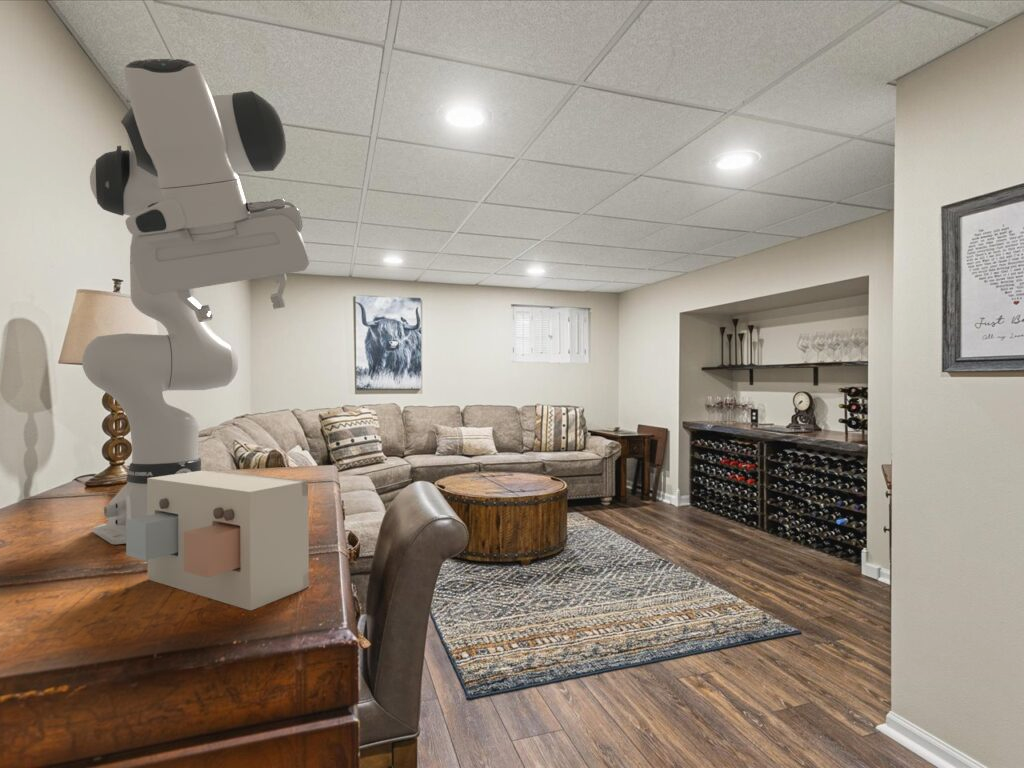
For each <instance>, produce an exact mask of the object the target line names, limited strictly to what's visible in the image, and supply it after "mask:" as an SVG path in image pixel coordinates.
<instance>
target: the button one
mask: <svg viewBox="0 0 1024 768" xmlns="http://www.w3.org/2000/svg"><path fill="white" fill-rule="evenodd" d="M125 544H126V546H125V548H126V549H125V550H126V551H125V554H126V555H125V556H127V557H129V558H133V559H137V560H141V561H145V562H148V560H151V559H154V558H158V557H162V556H166V555H170V554H173V553H177V552H178V514H174V513H169V512H163V513H157V514H152V515H147V516H142V517H137V518H132V519H127V520H126V543H125Z"/></svg>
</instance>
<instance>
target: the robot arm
mask: <svg viewBox="0 0 1024 768" xmlns="http://www.w3.org/2000/svg"><path fill="white" fill-rule="evenodd" d="M123 70H124V72H123V73H124V77H125V84H126V89H127V93H128V98H129V101H130V105H131V107H130V108H129V109H128V110H127V112H126V114H125V115H124V116H123V117H122V119H121V121H120V123H121V124H122V126H123V127H124V129H125V130H126V133H127V142H128V146H129V149H130V150H129V149H126V150H123V149H122V145H116V150H113V151H109V152H104V153H103V154H102V155H101V156H99V157H98V158H97V159H95V163H94V165H93V166H92V168H91V171H90V174H89V184H90V189H91V192H92V194H93V196H94V198H95V200H96V203H97V204H98V205H99V207H100V208H101V209H103V211H106V212H109V213H112V214H116V215H118V216H122V217H123V216H124V215H127V216H128V217H127V218H126V219H125V226H126V229H127V230H128V233H130V234H131V235H132V236H131V242H130V247H129V249H130V250H129V251H130V252H129V255H130V256H129V275H130V276H129V278H130V282H129V283H130V284H129V285H130V300H131V303H132V305H133V306H134V307H135V308H136V310H138V312H140V313H142V314H144V315H145V316H147V317H149V318H152V319H154V320H156V321H158V322H159V323H160V324H161V325H163V326H164V328H165V329H166V331H167V334H165V335H164V334H147V333H146V334H143V333H130V332H129V333H127V332H126V333H116V334H108V335H100V336H96V337H95V338H93V339H92V340H91V341H90V342H89V343H88V345H87V346H86V347H85V349H84V351H83V354H82V357H81V358H82V359H81V364H82V368H83V372H84V374H85V376H86V378H87V379H88V380H89V381H90V383H92V384H93V385H94V386H96V387H97V388H99V389H101V390H102V391H104V392H105V393H107V395H110V397H112V398H113V399H114V400H115V401H116V403H118V405H119V406H120V407H121V409H122V410H123V412H124V413H125V416H126V418H127V421H128V425H129V429H130V439H131V453H132V454H131V456H132V457H131V459H132V462H131V463H129V465H127V466H126V467H127V468H128V469H126V471H127V472H126V474H127V475H126V482H127V483H126V484H125V485H124V486H123V487H122V489H120V490H119V491H118V493H117V494H115V495H114V497H113V498H112V499H110V501H108V505H105V506H104V508H103V515H104V517H105V518H106V519H107V522H106V523H102V524H99V525H96V526H94V527H93V528H92V532H93V534H94V535H97V536H98V537H99V538H101V539H103V540H105V541H106V542H108V543H109V544H111V545H123V544H126V520H127V519H132V518H137V517H142V516H147V478H152V477H159V476H167V475H174V474H181V473H188V472H195V471H202V468H203V465H202V459H201V458H200V456H199V447H200V446H199V438H200V437H199V435H200V434H199V432H200V431H199V428H200V427H199V424H198V420H196V417H194V416H193V415H192V414H190V413H189V412H188V411H185V410H183V409H181V408H177V407H175V406H173V405H170V404H168V403H167V402H166V401H165V399H164V395H163V392H167V391H207V390H212V389H216V388H217V389H218V388H222V387H227V386H229V384H230V383H232V381H233V380H234V379H235V378H236V375H237V372H238V368H239V360H238V355H237V354H236V350H235V349H234V348H233V346H232V345H231V344H230V343H228V341H226V340H224V339H223V338H221V337H220V336H219V335H218V334H217V333H216V332H214V330H213V329H212V328H211V327H210V326H209V324H208V323H207V322H209V321H211V320H212V319H213V314H212V312H211V311H210V310H211V309H210V305H209V304H204V305H202V304H201V303H200V302H199V300H198V290H197V289H198V288H199V289H200V288H206V287H210V286H211V287H212V286H217V285H218V286H219V285H223V284H230V283H237V282H243V281H249V280H254V279H261V278H266V277H267V278H268V277H273V279H274V283H275V284H279V285H278V289H277V293H271V295H270V301H271V302H272V308H273V309H274V310H277V309H283V308H286V301H285V297H284V291H285V288H286V284H287V281H288V277H287V274H292V273H298V272H304V271H306V270H307V268H308V267H309V265H310V261H311V260H310V256H309V253H308V250H307V247H306V244H305V242H304V241H305V240H304V239H303V236H302V234H301V231H302V229H303V220H302V217H301V214H300V210H299V209H298V207H297V206H296V205H295V204H293V203H291V202H289V201H285V200H284V199H282V198H281V199H279V198H277V199H276V198H275V199H273V200H268V201H254V202H247V200H246V197H245V193H244V190H243V187H242V184H241V180H240V177H239V175H238V174H241V173H250V172H256V173H257V172H273V171H275V169H276V168H277V167H278V166H279V165H280V163H281V161H282V160H283V158H284V156H285V155H286V151H287V142H286V133H285V130H284V126H283V123H282V120H281V118H280V115H279V113H278V111H277V109H275V107H274V106H273V105H272V104H271V103H270V102H268V101H267V100H266V99H264V97H262V96H260V95H259V94H258V93H255V92H254V91H252V90H248V91H241V92H234V93H233V94H217V95H216V94H214V95H212V93H211V91H210V88H209V86H208V83H207V81H206V79H205V77H204V75H203V73H202V71H201V69H200V67H199V66H198V65H197V63H193V62H191V61H190V60H186V59H177V58H175V59H171V58H156V59H155V58H153V59H151V58H150V59H144V60H141V59H139V60H134V61H131V62H129V63H128V64H126V65H125V66H124V68H123ZM286 206H287V207H286Z"/></svg>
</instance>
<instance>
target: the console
mask: <svg viewBox="0 0 1024 768" xmlns="http://www.w3.org/2000/svg"><path fill="white" fill-rule="evenodd" d="M163 512H169V513H174V514H178V552H177V553H173V554H170V555H166V556H162V557H158V558H154V559H151V560H147V580H149V581H152V582H155V583H159V584H162V585H165V586H167V587H168V586H169V587H172V588H174V589H178V590H181V591H185V592H188V593H191V594H194V595H198V596H201V597H205V598H207V599H210V600H214V601H216V602H217V601H218V602H221V603H224V604H227V605H231V606H234V607H237V608H240V609H244V610H247V611H253V610H255V609H259V608H260V607H263V606H265V605H268V604H270V603H273V602H276V601H278V600H280V599H282V598H286V597H288V596H290V595H293V594H295V593H298V592H300V591H303V590H305V589H308V588H309V587H310V585H309V584H310V581H309V580H310V579H309V577H310V576H309V575H310V572H309V571H310V568H309V567H310V565H309V564H310V563H309V562H310V561H309V559H310V554H309V544H310V543H309V541H310V540H309V538H310V537H309V480H305V479H304V480H303V479H302V480H301V479H295V478H286V477H277V476H268V475H267V476H266V475H260V474H259V475H257V474H246V473H239V472H230V471H221V470H220V471H219V470H212V469H204V470H202V469H201V471H195V472H188V473H181V474H174V475H167V476H159V477H152V478H147V515H152V514H157V513H163ZM219 523H228V524H234V525H239V526H240V562H241V567H240V568H236V569H233V570H230V571H227V572H224V573H221V574H218V575H215V576H211V577H208V578H207V577H203V576H199V575H196V574H192V573H188V572H185V571H184V532H185V531H190V530H194V529H198V528H202V527H207V526H211V525H215V524H219ZM307 587H308V588H307Z"/></svg>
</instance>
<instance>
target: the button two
mask: <svg viewBox="0 0 1024 768" xmlns="http://www.w3.org/2000/svg"><path fill="white" fill-rule="evenodd" d="M240 567H241V562H240V526H239V525H234V524H228V523H219V524H215V525H211V526H207V527H202V528H198V529H194V530H190V531H185V532H184V571H185V572H188V573H192V574H196V575H199V576H203V577H207V578H208V577H211V576H215V575H218V574H221V573H224V572H227V571H230V570H233V569H236V568H240Z"/></svg>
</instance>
